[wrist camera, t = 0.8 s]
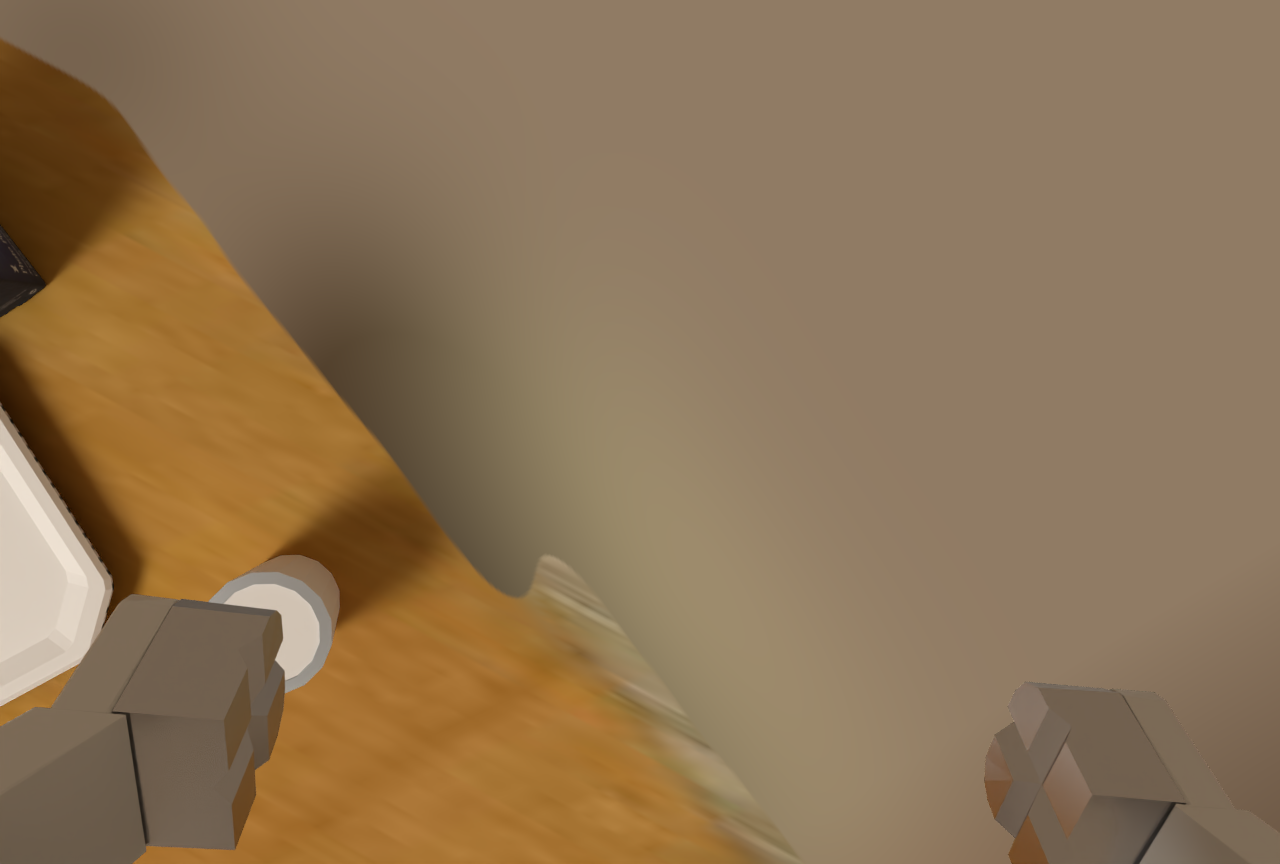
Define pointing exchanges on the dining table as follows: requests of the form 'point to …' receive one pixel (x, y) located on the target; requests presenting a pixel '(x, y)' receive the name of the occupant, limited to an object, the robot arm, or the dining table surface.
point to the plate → (42, 574)
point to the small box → (15, 275)
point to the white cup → (292, 610)
